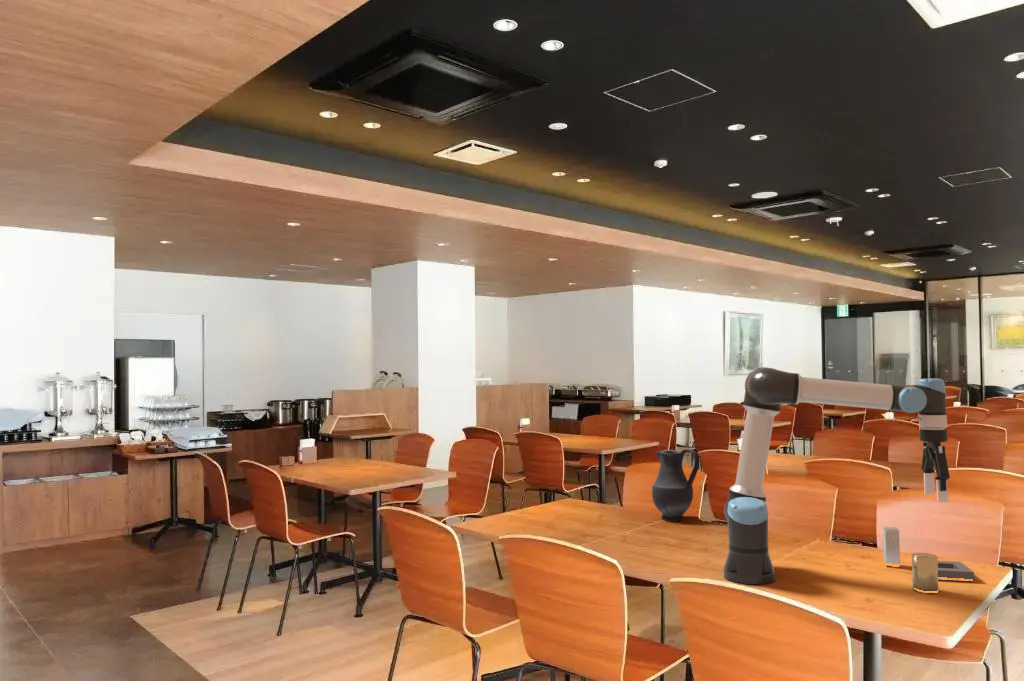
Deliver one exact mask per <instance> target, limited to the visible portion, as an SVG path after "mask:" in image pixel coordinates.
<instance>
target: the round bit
mask: <svg viewBox="0 0 1024 681" xmlns="http://www.w3.org/2000/svg"><path fill="white" fill-rule="evenodd" d="M938 561H939V559H938V555H937V554H936V555H935V554H934V553H928V552H912V553H911V574H912V575H911V576H912V581H911V582H912V589H913V588H916V589H919V590H923V591H937V590H938V589H939V580H938ZM939 590H940V589H939Z"/></svg>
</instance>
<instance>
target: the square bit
mask: <svg viewBox="0 0 1024 681" xmlns="http://www.w3.org/2000/svg"><path fill="white" fill-rule="evenodd" d="M900 546H901V545H900V529H899V528H898V527H897V526H896V527H895V526H882V553H883V554H882V555H883V556H882V557H883V562H884V561H885V562H886V563H892V564H900V565H901V556H900V555H901V549H900Z"/></svg>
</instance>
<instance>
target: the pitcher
mask: <svg viewBox="0 0 1024 681" xmlns="http://www.w3.org/2000/svg"><path fill="white" fill-rule="evenodd" d="M686 453H689V454H691V455H693V457H694V464H693V466H692V467H693V468H692V470H691V473H690V475H689V478H687V477H686V475H685V472H684V470H683V468H684V467H683V460H684V456H685V455H686ZM655 455H656V457H657V458H658V461H659V464H660V467H659V471H658V474H657V477H656V480H655V482H653V485H652V488H651V495H652V496H651V497H652V500H653V504H654V506H655V507H656V509H658V511H660V513H661V514H662V515H661V517H660V519H662V521H668V522H669V521H670V522H679V521H678V520H682V521H684V520H685V517H684V514H685V513H686V511H688V509H689V508H690V507H691V505H692V503H693V499H694V489H693V484H694V480H695V479H696V476H697V472H698V471H699V468H700V467H699V466H700V457H699V454H698V453H697V452H696V451H695V450H694V449H691V448H685V449H682V450H681V451H680V450H674V449H666V450H662V451H661V450H659V451H656V452H655ZM683 519H684V520H683Z"/></svg>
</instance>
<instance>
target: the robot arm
mask: <svg viewBox="0 0 1024 681" xmlns="http://www.w3.org/2000/svg"><path fill="white" fill-rule="evenodd" d="M744 390H745V392H744V398H743V404H742V407H743V408H744V409H745V411H746V414H745V421H744V428H743V433H742V440H741V446H740V451H739V452H740V453H739V459H738V463H737V464H738V465H737V470H736V475H735V476H736V477H735V482H734V484H733V485H731V486H730V487H729V490H728V494H727V496H728V497H727V501H726V502H725V506H724V509H723V510H724V513H723V515H724V517H725V520H726V523H727V525H728V526H727V527H728V528H727V529H728V553H727V556H726V560H725V563H724V565H723V570H722V571H723V572H722V574H723V578H725V579H726V580H728V581H730V580H731V582H734V581H735V583H738V582H740V583H739V584H745V585H747V584H748V585H766V584H765V583H767V584H770V582H771V583H773V582H775V581H776V570H775V568H774V565H773V563H772V562H773V561H772V559H771V556H770V553H769V551H770V550H769V521H768V520H769V519H768V518H769V510H768V505H767V503H766V501H767V494H766V492H764V482H765V476H766V470H767V463H768V459H769V457H768V456H769V452H770V445H771V441H772V440H771V439H772V432H773V427H774V420H775V416H777V415H779V413H781V410H782V409H781V408H782V405H795V406H796V405H798V404H799V403H807V404H809V403H810V404H821V405H830V406H832V405H833V406H842V407H843V406H844V407H852V408H865V409H876V410H886V411H892V412H893V411H895V412H902V413H904V412H905V413H908V414H914V413H918V417H917V418H916V420H917V421H918V423H919V425H918V426H919V428H920V429H919V430H918V431H919V433H918V434H919V440H920V442H923V443H922V445H923V446H922V448H923V449H922V460H921V471H922V472H923V488H924V491H923V492H924V495H936V496H937V497H936V500H937V502H938V503H941V502H942V503H949V494H948V493H949V492H948V488H949V487H948V480H949V479H950V478H951V476H950V471H949V467H948V461H947V454H946V447H945V446H944V445H941V443H945V442H946V443H947V441H948V430H947V428H948V417H947V399H946V398H947V392H946V385H945V381H944V380H943V379H942V378H919V379H917V382H916V384H912V385H903V384H902V385H895V384H894V385H893V384H883V383H872V382H871V383H870V382H861V381H860V382H859V381H850V380H837V379H829V378H828V379H826V378H816V377H804V376H802V375H800V373H796V372H795V373H793V372H787V371H782V370H779V369H776V368H773V367H764V366H763V367H758V368H755V369H754V370H752V371H751V372H749V373H748V374H747V376H746V379H745V382H744ZM935 473H936V476H935ZM935 481H936V482H935ZM935 483H936V494H935ZM774 580H775V581H774Z"/></svg>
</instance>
